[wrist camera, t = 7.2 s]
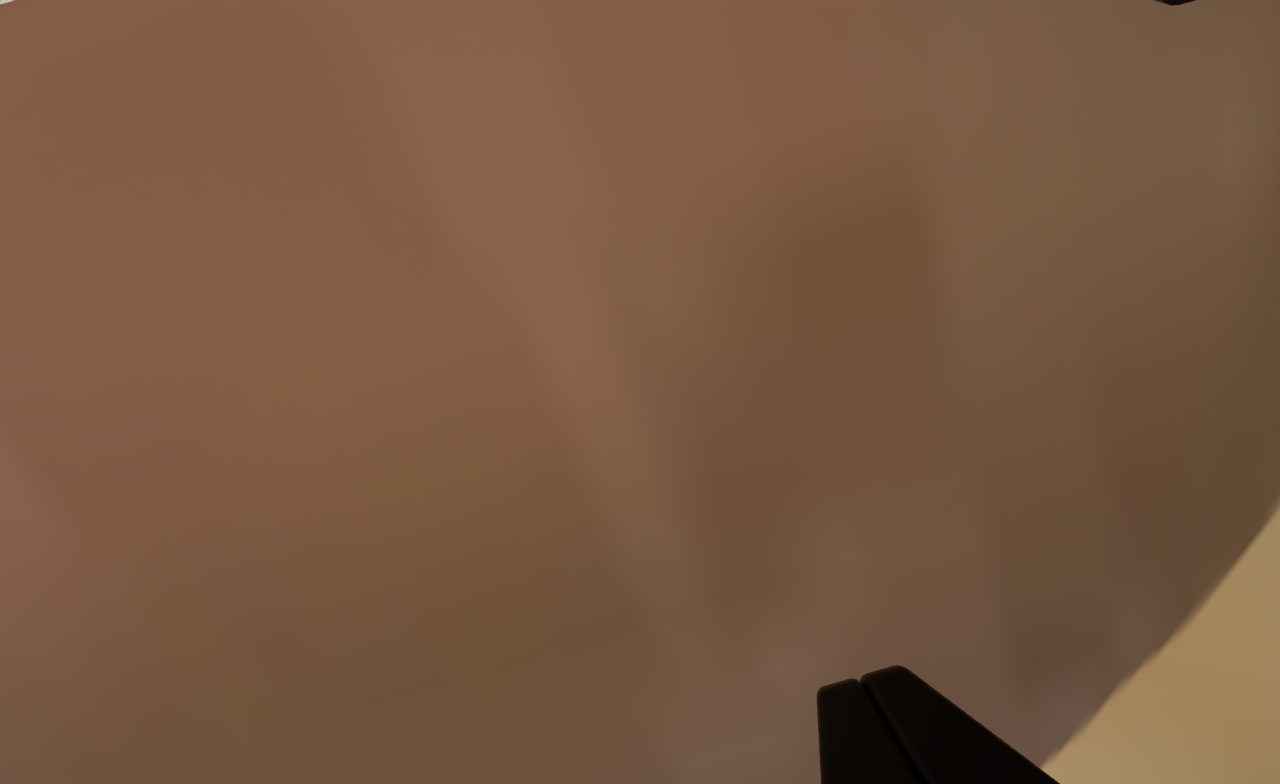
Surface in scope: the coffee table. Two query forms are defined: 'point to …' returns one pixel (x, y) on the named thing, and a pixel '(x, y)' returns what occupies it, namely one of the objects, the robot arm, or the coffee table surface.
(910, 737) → the robot arm
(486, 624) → the coffee table surface
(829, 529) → the coffee table surface
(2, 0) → the pipe rig
